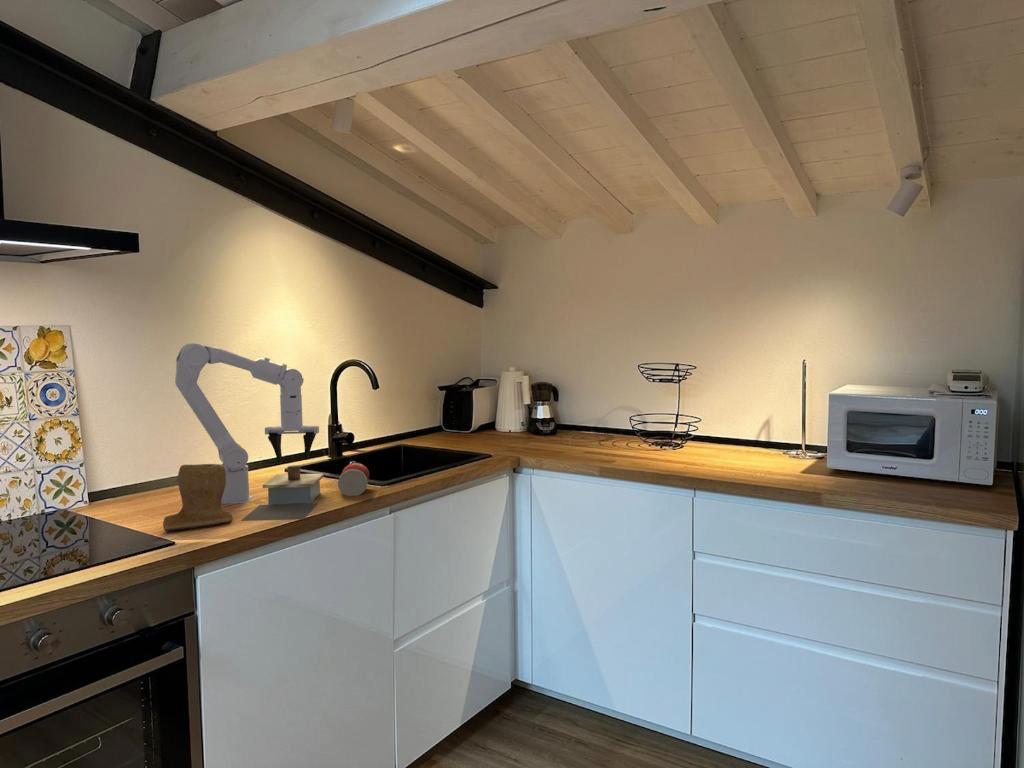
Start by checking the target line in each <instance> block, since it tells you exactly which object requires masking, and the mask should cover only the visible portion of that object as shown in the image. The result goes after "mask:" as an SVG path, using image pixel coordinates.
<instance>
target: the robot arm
mask: <svg viewBox="0 0 1024 768" xmlns="http://www.w3.org/2000/svg"><path fill="white" fill-rule="evenodd" d="M175 362H176V363H175V364H176V366H175V377H174V378H175V381H174V383H175V386H176V387H177V389H178V391H179V392H180V394H181V395H182V397H183V398H184V400H185V401H186V402H187V405H189V407H190V409H191V410H192V412H193V413H194V415H195V416H196V418H197V420H199V422H200V424H201V425H202V427H203V428H204V430H205V431H206V434H208V436H209V438H210V439H211V440H212V442H213V444H214V446H215V447H216V449H217V450H218V451H217V452H218V458H219V460H220V461H221V462H222V463H221V465H223V466H224V467H225V471H226V484H225V489H224V493H223V496H222V500H221V505H222V504H224V505H225V504H247V502H249V501H250V500H251V499H252V498H255V495H250V484H249V482H250V481H249V465H247V464H248V462H249V454H248V452H247V450H246V449H245V448H244V447H242V445H241V444H239V443H238V442H236V441H235V439H234V438H233V435H232V434H231V433H230V432H229V430H228V429H227V427H226V426H225V424H224V423H223V421H222V420H221V418H220V417H219V414H217V412H216V410H215V409H214V407H213V405H212V404H211V402H210V401H209V400H208V398H207V397H206V394H204V392H203V390H202V389H201V388H200V386H199V384H198V379H199V377H200V374H201V371H202V370H203V369H204V367H205V366H206V365H207V364H208V365H215V364H220V363H221V364H224V365H228V366H231V367H235V368H238V369H242V370H244V371H248V372H250V374H251V376H252V378H253V379H257V380H260V381H262V382H265V383H269V384H271V385H275V386H277V385H279V387H280V388H279V389H280V392H279V393H280V395H279V400H280V401H279V402H280V403H279V404H280V425H278V426H276V425H275V426H266V427H264V435H268V436H267V439H268V441H269V443H270V445H271V446H272V448H273V450H274V453H275V454H274V455H275V457H276V460H277V461H281V460H282V456H283V455H282V436H283V435H284V434H285V435H287V434H288V435H290V434H294V435H295V434H299V435H300V434H301V435H302V434H303V437H302V438H303V443H304V460H305V461H307V460H309V459H310V453H311V448H312V445H313V443H314V441H315V438H316V436H317V434H319V433H320V426H319V425H303V400H302V399H303V397H302V385H303V383H304V381H305V380H304V378H303V374H302V373H301V371H299V370H298V369H296V368H291V367H289V366H288V365H287V364H285V363H282V364H280V363H277V362H274V361H271V358H269V357H264V358H262V357H260V358H257V359H255V360H253V359H251V358H247V357H244V356H242V355H239V354H236V353H234V352H230V351H228V350H225V349H223V348H220V347H214V346H208V345H202V344H199V343H194V342H193V343H186V344H185V345H184V346H182V347H181V348H180V351H179V352H178V355H177V357H176V360H175Z"/></svg>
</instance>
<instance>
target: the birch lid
mask: <svg viewBox="0 0 1024 768" xmlns="http://www.w3.org/2000/svg"><path fill="white" fill-rule="evenodd" d="M324 475H325V474H324V473H301V465H298V464H297V465H296V464H295V465H294V464H293V465H289V466H287V474H275V475H274V476H273V477H271V478H270V479H269V480H268V481H266V482H265V483H263V484H262V489H268V488H287V487H314V486H315V485H316V484H317V483H318V482H319V481H320V482H321V480H322V479H323V478H324V477H325V476H324Z"/></svg>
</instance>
